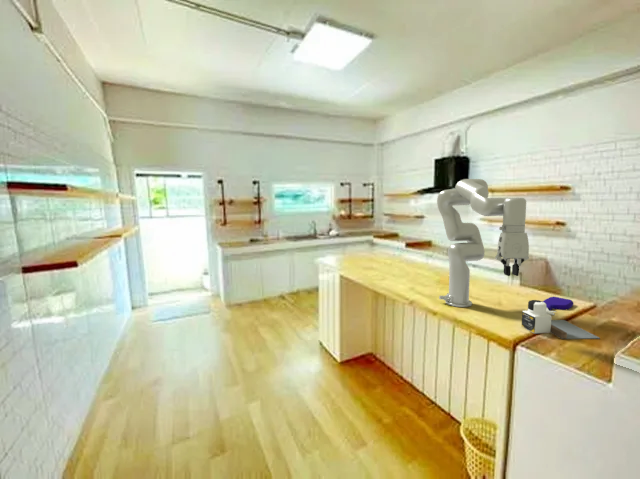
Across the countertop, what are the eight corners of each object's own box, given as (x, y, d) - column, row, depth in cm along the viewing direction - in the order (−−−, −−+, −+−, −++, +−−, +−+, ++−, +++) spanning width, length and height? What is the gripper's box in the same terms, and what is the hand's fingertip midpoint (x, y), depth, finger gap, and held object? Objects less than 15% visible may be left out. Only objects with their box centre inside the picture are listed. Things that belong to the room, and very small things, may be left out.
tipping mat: (562, 339, 118) (562, 332, 117) (531, 321, 136) (531, 315, 135) (599, 338, 117) (600, 332, 117) (563, 320, 135) (564, 315, 135)
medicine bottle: (521, 326, 130) (522, 299, 128) (537, 325, 130) (538, 298, 129) (534, 333, 123) (535, 304, 121) (550, 332, 123) (552, 303, 122)
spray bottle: (550, 295, 162) (530, 306, 148) (576, 300, 154) (557, 312, 140) (549, 301, 163) (529, 312, 149) (575, 306, 154) (557, 318, 140)
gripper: (497, 230, 119) (495, 277, 121) (540, 229, 118) (537, 277, 120) (487, 229, 126) (485, 273, 128) (528, 228, 126) (525, 272, 128)
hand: (511, 274), depth 124 cm, fingers open, 2 cm apart
